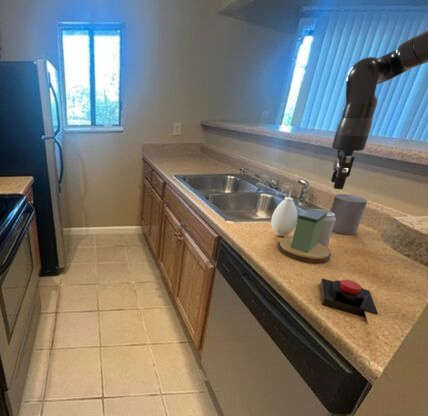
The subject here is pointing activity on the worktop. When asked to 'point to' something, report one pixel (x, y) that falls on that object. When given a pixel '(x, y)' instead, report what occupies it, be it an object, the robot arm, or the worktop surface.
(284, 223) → the sauce bottle
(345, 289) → the bell button
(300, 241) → the tea box
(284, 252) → the disc
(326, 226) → the can
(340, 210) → the pillar candle
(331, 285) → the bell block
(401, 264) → the worktop surface
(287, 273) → the worktop surface
